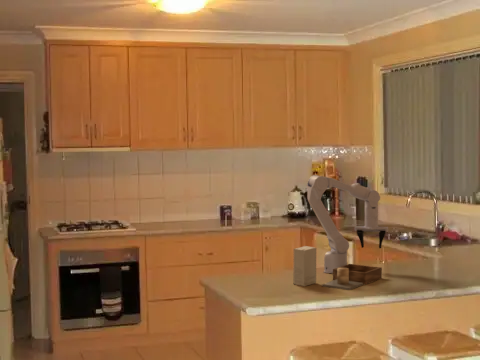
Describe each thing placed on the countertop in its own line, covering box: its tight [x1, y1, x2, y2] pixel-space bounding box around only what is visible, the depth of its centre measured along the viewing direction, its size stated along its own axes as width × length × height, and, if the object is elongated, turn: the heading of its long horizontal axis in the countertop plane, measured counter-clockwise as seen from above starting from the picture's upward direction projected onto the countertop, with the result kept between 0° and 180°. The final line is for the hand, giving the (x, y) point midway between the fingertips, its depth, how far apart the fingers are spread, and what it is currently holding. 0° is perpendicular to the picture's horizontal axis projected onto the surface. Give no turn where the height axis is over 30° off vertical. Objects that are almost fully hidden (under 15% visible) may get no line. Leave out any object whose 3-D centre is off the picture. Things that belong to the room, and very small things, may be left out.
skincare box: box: [292, 245, 317, 287], centre depth 296 cm, size 8×6×15 cm
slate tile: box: [322, 279, 364, 291], centre depth 293 cm, size 12×12×1 cm
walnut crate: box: [332, 263, 383, 285], centre depth 306 cm, size 15×15×4 cm
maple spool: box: [337, 268, 349, 285], centre depth 293 cm, size 4×4×6 cm
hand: (371, 247), depth 323 cm, fingers open, 7 cm apart
